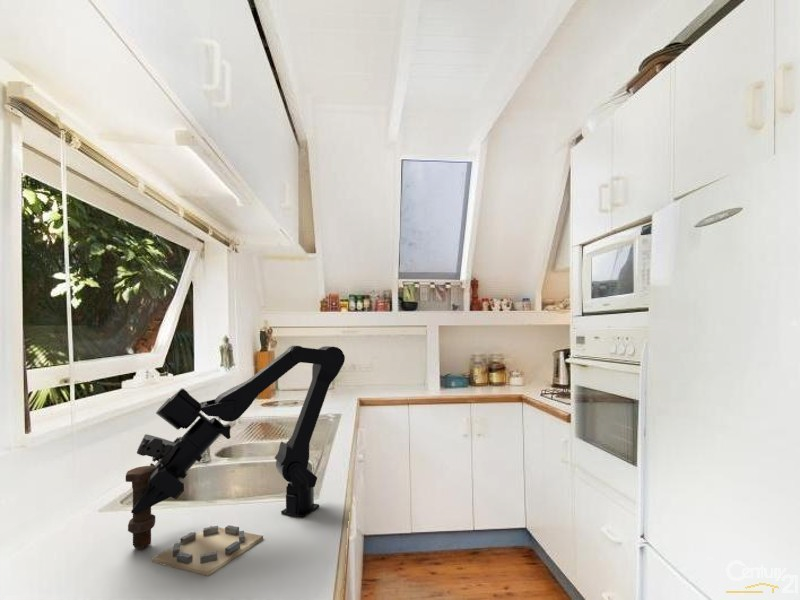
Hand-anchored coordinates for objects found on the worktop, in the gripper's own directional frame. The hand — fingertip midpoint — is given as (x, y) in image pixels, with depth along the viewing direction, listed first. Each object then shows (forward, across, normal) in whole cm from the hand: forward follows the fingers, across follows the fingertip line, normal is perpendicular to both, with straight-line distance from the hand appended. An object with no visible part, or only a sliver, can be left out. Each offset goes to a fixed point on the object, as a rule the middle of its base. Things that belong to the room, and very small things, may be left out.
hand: (133, 508), depth 85 cm
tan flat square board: (-4, +8, +15) cm, 17 cm away
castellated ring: (-4, +8, +15) cm, 17 cm away
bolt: (+4, 0, +6) cm, 8 cm away
